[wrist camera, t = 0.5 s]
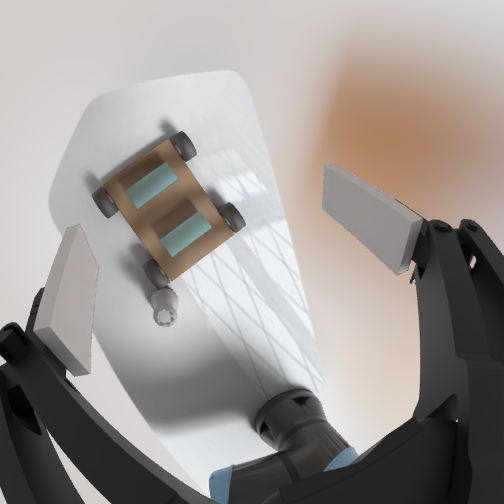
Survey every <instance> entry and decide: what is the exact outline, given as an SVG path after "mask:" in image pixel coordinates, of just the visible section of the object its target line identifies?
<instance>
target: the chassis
mask: <svg viewBox="0 0 504 504" xmlns="http://www.w3.org/2000/svg"><path fill="white" fill-rule="evenodd" d="M171 142H172V143H171ZM196 155H197V152H196V149H195V147H194V145H193V143H192V142H191V140H190V139H189V137H188V136H187V135H186V134H185V133H184V132H183V131H181V132H179V133H177V134H176V135H174V136H173V137H171V141H170V140H169V139H168V140H166V141H164V142H163V143H161V144H160V145H158V146H157V147H155V148H154V149H152V150H151V151H149V152H148V153H146V154H145V155H144V156H142V157H141V158H139V159H138V160H136V161H135V162H134V163H132V164H131V165H129V166H128V167H127V168H125V169H124V170H123V171H121V172H120V173H119V174H117V175H116V176H115V177H113V178H112V179H111V180H110V181H108V182H107V183H106V184H104V185H103V186H104V187H105V189H106V190H107V191H106V190H105V189H104V188H103V187H101V188H100V189H98V190H97V191H96V192H95V193H94V194H92V197H93V199H94V201H95V203H96V205H97V206H98V208H99V209H100V210H101V212H102V213H103V214H104V215H105V216H106V217H107V218H110V217H111V216H113V215H114V214H115V213H116V212H118V211H119V210H120V212H121V213H122V214H123V216H124V217H125V219H126V220H127V222H128V223H129V225H130V226H131V227H132V229H133V230H134V232H135V233H136V235H137V236H138V237H139V239H140V240H141V242H142V243H143V244H144V246H145V247H146V248H147V250H148V251H149V252H150V254H151V255H152V256H153V258H154V259H155V260H156V261H155V260H154V259H153V258H152V259H151V260H149V261H148V262H147V263H146V264H144V265H143V269H144V271H145V273H146V274H147V276H148V277H149V279H150V280H151V281H152V283H153V284H154V285H155V286H156V287H157V288H158V289H160V290H161V289H162V288H163V287H165V286H166V285H167V284H169V283H170V280H171V281H173V280H174V279H176V278H177V277H178V276H180V275H181V274H182V273H184V272H185V271H186V270H188V269H189V268H190V267H191V266H193V265H194V264H195V263H197V262H198V261H199V260H201V259H202V258H203V257H205V256H206V255H207V254H209V253H210V252H211V251H213V250H214V249H215V248H217V247H218V246H219V245H221V244H222V243H223V242H225V241H226V240H228V239H229V238H230V237H232V236H233V235H234V234H233V232H234V233H236V232H238V231H239V230H241V229H242V228H243V227H245V226H246V224H245V221H244V219H243V217H242V216H241V214H240V213H239V211H238V210H237V209H236V208H235V206H234V205H233V204H231V203H230V202H228V203H227V204H225V205H224V206H222V207H221V208H219V209H218V210H217V209H216V207H215V206H214V204H213V203H212V202H211V200H210V199H209V197H208V196H207V194H206V193H205V191H204V190H203V188H202V187H201V185H200V184H199V183H198V181H197V180H196V178H195V177H194V175H193V174H192V172H191V171H190V169H189V168H188V166H187V165H186V163H185V162H187V161H188V160H190V159H191V158H193V157H194V156H196ZM183 160H184V161H185V162H184V161H183ZM118 209H119V210H118ZM218 211H219V212H218ZM231 230H232V231H233V232H232V231H231ZM167 276H168V277H167ZM169 279H170V280H169Z"/></svg>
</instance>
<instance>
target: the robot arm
mask: <svg viewBox="0 0 504 504" xmlns="http://www.w3.org/2000/svg"><path fill="white" fill-rule="evenodd" d="M322 209H323V210H324V211H326V212H327V213H328V214H329V215H330V216H331V217H333V218H334V219H335V220H336V221H337V222H338V223H340V224H341V225H342V226H343V227H344V228H345V229H347V230H348V231H349V232H350V233H351V234H352V235H353V236H355V237H356V238H357V239H358V240H359V241H360V242H361V243H362V244H363V245H365V246H366V247H367V248H368V249H369V250H370V251H371V252H372V253H373V254H374V255H376V256H377V257H378V258H379V259H380V260H381V261H382V262H383V263H384V264H385V265H386V266H387V267H389V269H391V270H392V271H393V272H394V273H395V274H396V275H399V274H402V273H404V272H406V271H408V269H409V265H410V263H411V260H413V261H414V262H415V263H416V265H415V269H414V271H413V274H412V277H411V280H410V283H411V284H412V281H413V280H414V279H415V281H416V282H415V284H416V290H417V300H418V312H419V327H420V394H419V401H418V403H417V406H416V408H415V410H414V413H413V416H412V418H411V419H410V420H408V421H407V422H405V423H404V424H403V425H401V426H400V427H398V428H397V429H395V430H394V431H392V432H391V433H389V434H388V435H386V436H385V437H384V438H382V439H381V440H380V441H379V442H377V443H376V444H375V445H373V446H372V447H371V448H369V449H368V450H367V451H365V452H364V453H362V454H361V455H360V456H359V455H358V454H357V453H356V451H355V449H354V448H353V447H351V446H350V445H349V444H348V443H347V442H346V441H345V440H344V439H343V438H342V436H341V435H340V434H339V433H338V432H337V431H336V430H335V429H334V428H333V427H332V426H331V425H330V424H329V423H328V422H327V420H326V417H325V413H324V410H323V407H322V404H321V403H320V401H319V399H318V398H317V397H316V396H315V395H314V394H313V393H311V392H310V391H307V390H300V389H299V390H291V391H287V392H284V393H282V394H279V395H278V396H276V397H274V398H273V399H271V400H270V401H268V402H267V403H266V404H265V405H264V406H263V407H262V409H261V410H260V411H259V413H258V415H257V417H256V420H255V428H256V431H257V433H258V434H259V436H260V438H261V439H262V440H263V441H264V442H265V443H267V444H268V445H269V446H271V447H272V448H274V449H275V450H276V451H278V452H277V453H274V454H271V455H268V456H265V457H262V458H259V459H255V460H252V461H249V462H245V463H241V464H238V465H231V466H230V467H227V468H224V469H220V470H217V471H214V472H213V473H212V474H211V475H210V478H209V489H210V496H211V499H210V498H208V497H206V496H204V495H202V494H200V493H199V492H197V491H196V490H194V489H192V488H191V487H189V486H188V485H186V484H184V483H183V482H182V481H180V480H178V479H177V478H176V477H174V476H173V475H171V474H170V473H169V472H167V471H166V470H164V469H163V468H162V467H160V466H159V465H158V464H156V463H155V462H154V461H152V460H151V459H150V458H148V457H147V456H146V455H145V454H143V453H142V452H141V451H140V450H138V449H137V448H136V447H135V446H134V445H133V444H131V443H130V442H129V441H128V440H127V439H126V438H124V437H123V436H122V435H121V434H120V433H119V432H118V431H117V430H116V429H115V428H114V427H113V426H111V425H110V424H109V423H108V422H107V421H106V420H105V419H104V418H103V417H102V416H101V415H100V414H99V413H98V412H97V411H96V410H95V409H94V408H93V407H92V405H91V404H90V403H89V402H88V401H87V400H86V399H85V398H84V397H83V396H82V395H81V393H80V392H79V391H78V390H77V389H76V388H75V387H74V385H73V384H72V383H71V382H70V381H69V380H68V379H67V378H66V369H67V370H68V371H69V372H70V373H71V374H72V375H73V376H74V377H75V376H81V375H86V374H90V367H91V337H92V324H93V312H94V302H95V294H96V286H97V278H98V271H99V266H98V264H97V262H96V260H95V258H94V255H93V253H92V251H91V249H90V247H89V244H88V242H87V240H86V237H85V235H84V232H83V230H82V228H81V225H80V224H78V225H75V226H72V227H69V228H67V230H66V232H65V234H64V237H63V239H62V242H61V244H60V247H59V249H58V252H57V255H56V257H55V260H54V263H53V265H52V268H51V271H50V274H49V277H48V280H47V283H46V286H45V287H44V288H41V289H40V290H39V292H38V293H37V295H36V297H35V298H34V301H33V305H32V308H31V312H30V316H29V318H28V322H27V326H26V330H25V332H24V331H23V330H22V329H21V327H20V326H19V325H18V324H17V323H15V322H11V323H9V324H7V325H6V326H4V327H3V328H2V329H1V330H0V355H1V356H2V357H3V358H4V359H5V360H6V361H7V362H6V363H5V364H3V365H1V366H0V487H1V490H2V493H3V495H4V497H5V500H6V502H7V504H85V503H84V501H83V500H82V498H81V497H80V495H79V493H78V492H77V490H76V488H75V487H74V485H73V483H72V481H71V480H70V478H69V476H68V474H67V472H66V470H65V468H64V467H63V465H62V463H61V461H60V459H59V457H58V454H57V452H56V450H55V448H54V446H53V444H52V441H51V439H50V437H49V434H48V432H47V430H48V431H49V433H50V434H51V436H52V437H53V438H54V440H55V441H56V442H57V444H58V445H59V446H60V448H61V449H62V450H63V452H64V453H65V454H66V455H67V457H68V458H69V459H70V460H71V461H72V463H73V464H74V465H75V466H76V467H77V468H78V470H79V471H80V472H81V473H82V474H83V475H84V476H85V477H86V479H88V481H89V482H90V483H91V484H92V485H93V486H94V487H95V488H96V489H97V490H98V491H99V492H100V493H101V494H102V495H103V496H104V497H105V498H106V499H107V500H108V501H109V502H110V503H111V504H504V256H503V255H502V253H501V252H500V250H499V249H498V248H497V247H496V245H495V244H494V243H493V241H492V240H491V239H490V237H489V236H488V235H487V234H486V232H485V231H484V230H483V229H482V227H480V225H478V224H477V223H476V222H475V221H472V220H468V219H463V220H461V223H460V226H459V229H453V228H452V227H451V226H450V225H449V224H447V223H445V222H443V221H440V220H431V221H427V220H426V219H424V218H423V217H421V216H420V215H419V214H417V213H416V212H414V211H413V210H411V209H409V208H408V207H407V206H404V204H402V203H401V202H399V201H398V200H396V199H394V198H392V197H390V196H389V195H387V194H385V193H384V192H382V191H381V190H379V189H378V188H376V187H374V186H372V185H371V184H369V183H368V182H366V181H364V180H363V179H361V178H359V177H358V176H356V175H354V174H352V173H350V172H349V171H347V170H345V169H343V168H342V167H340V166H338V165H336V164H331V165H325V166H324V181H323V202H322ZM473 256H475V258H476V263H475V265H474V267H473V268H471V266H470V263H471V261H472V259H473ZM456 420H458V422H456ZM46 428H47V430H46Z"/></svg>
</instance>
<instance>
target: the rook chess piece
mask: <svg viewBox="0 0 504 504" xmlns="http://www.w3.org/2000/svg"><path fill="white" fill-rule="evenodd" d="M151 307H152V308H153V310H154V314H153V316H154V320H155V322H156V323H157V324H158V325H159V326H162V327H169V326H171V325H173V324H174V323H175V322H176V319H177V313H176V310H177V308H178V297H177V295H176V293H175V292H173V291H172V290H170V289H168V288H162V289H161V290H160V289H158V290H156V291H155V292H154V293H153V294H152V297H151Z"/></svg>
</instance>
